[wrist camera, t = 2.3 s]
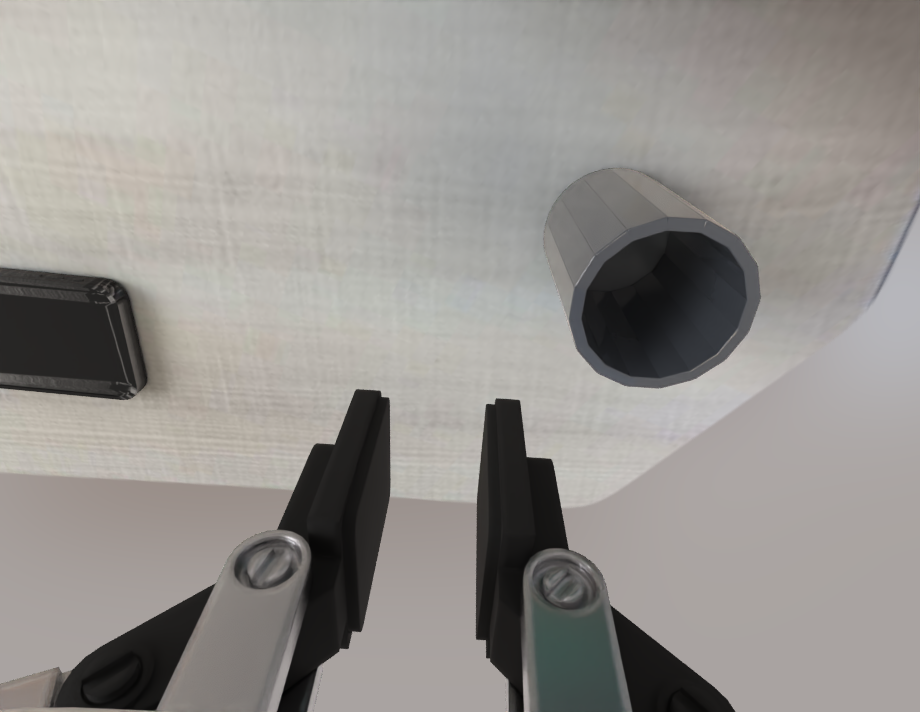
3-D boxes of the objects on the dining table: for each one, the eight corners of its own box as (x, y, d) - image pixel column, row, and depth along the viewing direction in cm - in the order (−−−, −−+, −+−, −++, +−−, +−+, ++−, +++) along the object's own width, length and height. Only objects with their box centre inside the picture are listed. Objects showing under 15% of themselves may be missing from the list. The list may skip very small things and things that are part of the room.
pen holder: (535, 290, 31) (557, 382, 22) (553, 163, 27) (587, 211, 19) (657, 298, 31) (727, 393, 22) (689, 172, 27) (787, 224, 19)
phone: (140, 401, 34) (-100, 379, 34) (150, 391, 35) (-84, 369, 35) (113, 285, 30) (-158, 258, 30) (124, 278, 31) (-138, 252, 31)
